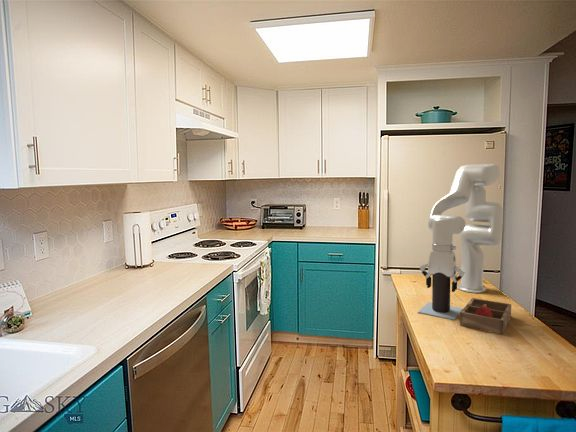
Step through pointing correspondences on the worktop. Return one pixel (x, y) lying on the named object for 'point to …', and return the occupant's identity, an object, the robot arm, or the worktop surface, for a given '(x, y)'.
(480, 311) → the onion
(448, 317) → the mat
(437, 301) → the vinegar
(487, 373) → the worktop surface
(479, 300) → the rack
